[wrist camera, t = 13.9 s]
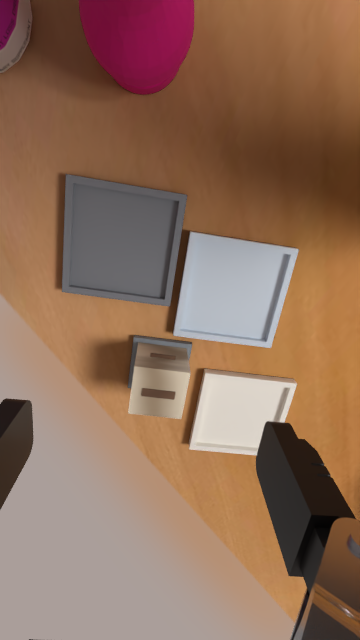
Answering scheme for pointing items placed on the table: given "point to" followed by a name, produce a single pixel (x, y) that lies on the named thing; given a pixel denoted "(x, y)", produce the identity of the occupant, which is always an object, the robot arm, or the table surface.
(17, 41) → the supplement can
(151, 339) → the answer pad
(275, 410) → the tray cream
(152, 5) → the pepper mill
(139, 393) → the beige cube
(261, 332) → the tray bluegrey
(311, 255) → the table surface
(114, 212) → the tray charcoal
